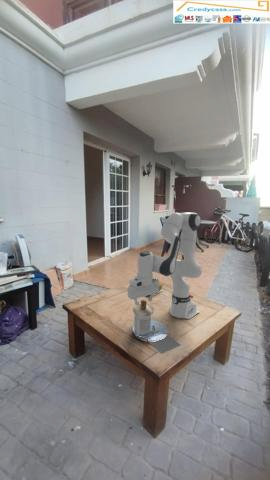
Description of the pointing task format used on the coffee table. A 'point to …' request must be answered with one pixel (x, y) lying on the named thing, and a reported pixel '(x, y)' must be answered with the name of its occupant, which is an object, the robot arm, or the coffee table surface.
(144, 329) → the supplement tub
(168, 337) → the mat
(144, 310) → the lid
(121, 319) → the coffee table surface
